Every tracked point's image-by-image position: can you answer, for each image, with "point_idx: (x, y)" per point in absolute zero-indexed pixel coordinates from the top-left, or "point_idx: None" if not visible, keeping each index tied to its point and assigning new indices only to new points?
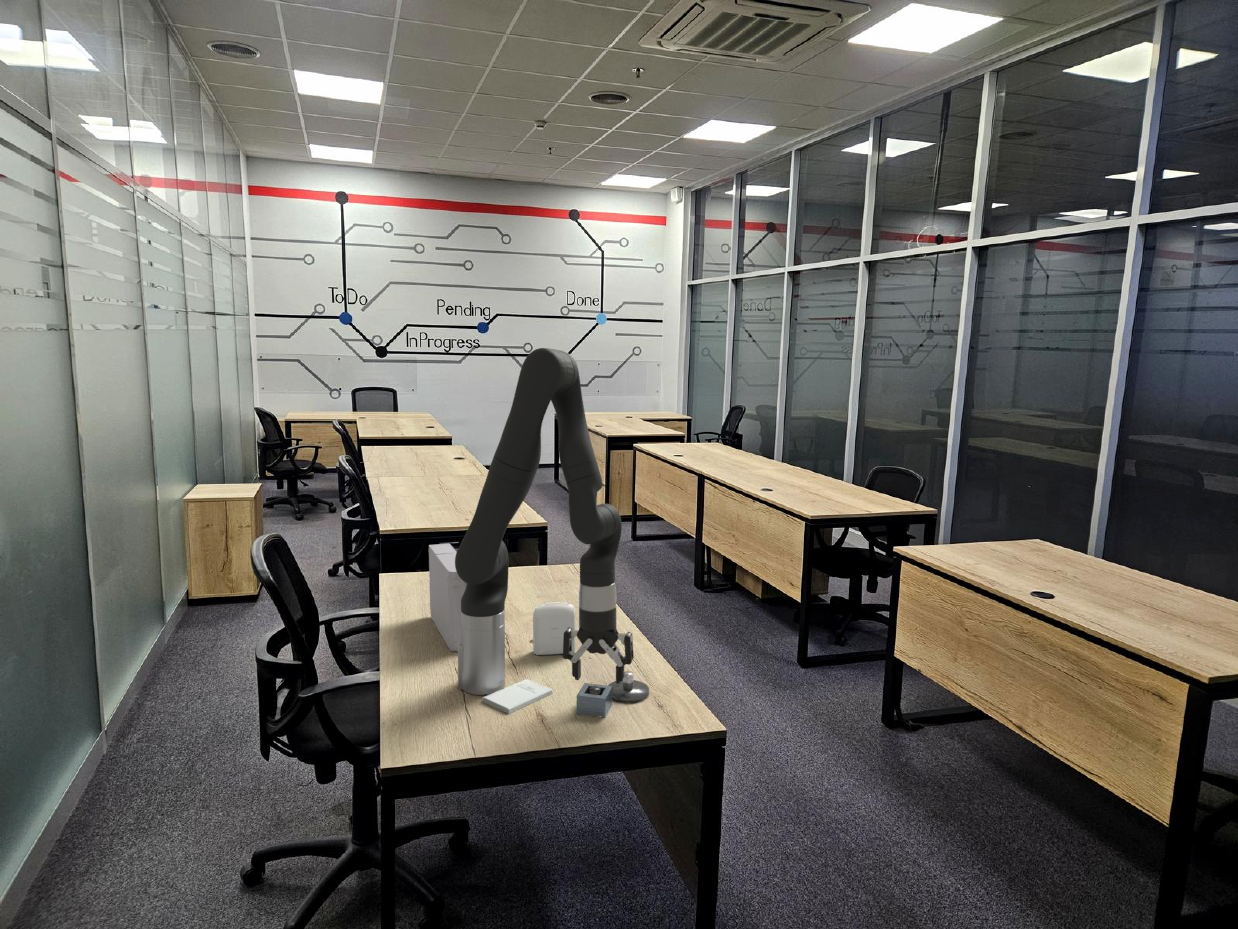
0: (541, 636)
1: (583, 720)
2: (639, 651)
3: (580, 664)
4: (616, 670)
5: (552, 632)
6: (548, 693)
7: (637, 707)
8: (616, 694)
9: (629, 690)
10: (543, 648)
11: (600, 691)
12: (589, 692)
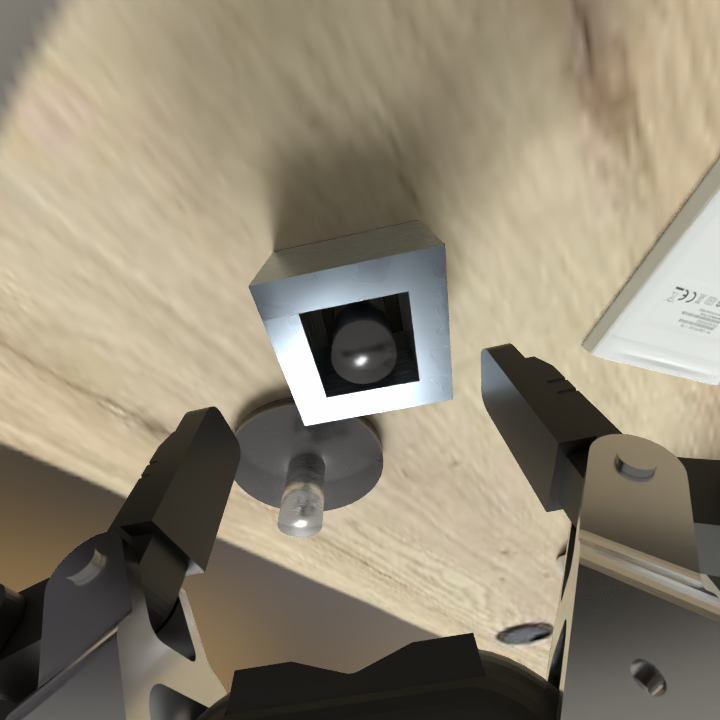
0: (714, 591)
1: (356, 171)
2: (394, 603)
3: (524, 468)
4: (162, 489)
5: None
6: (601, 329)
7: (216, 389)
8: None
9: (293, 459)
10: None
11: None
12: (390, 331)
